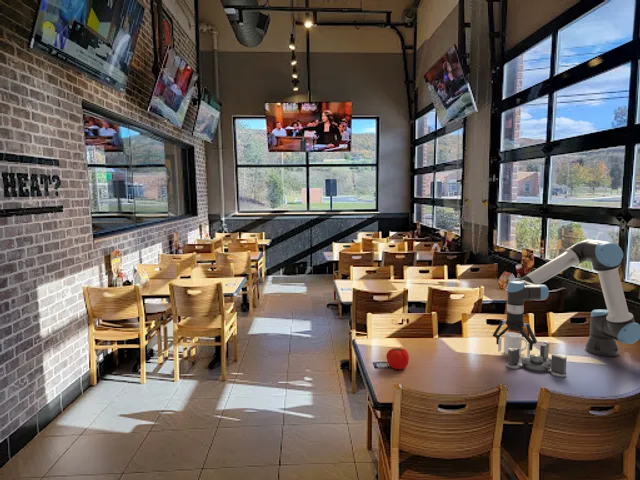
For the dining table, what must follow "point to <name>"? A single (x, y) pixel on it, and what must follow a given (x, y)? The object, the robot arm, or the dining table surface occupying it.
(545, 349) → the knob
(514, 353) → the dark grey angled finger
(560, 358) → the knob
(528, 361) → the tribrach
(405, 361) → the tomato
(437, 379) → the dining table surface
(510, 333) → the mug
